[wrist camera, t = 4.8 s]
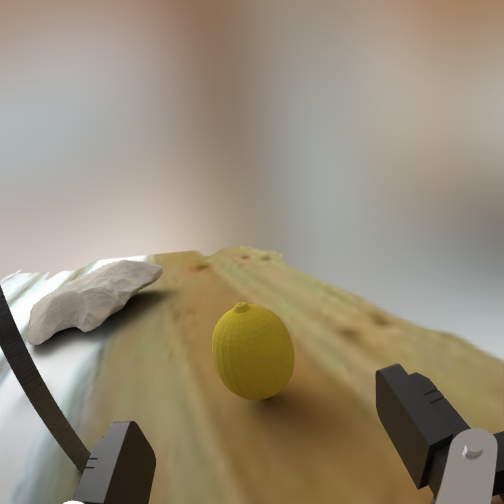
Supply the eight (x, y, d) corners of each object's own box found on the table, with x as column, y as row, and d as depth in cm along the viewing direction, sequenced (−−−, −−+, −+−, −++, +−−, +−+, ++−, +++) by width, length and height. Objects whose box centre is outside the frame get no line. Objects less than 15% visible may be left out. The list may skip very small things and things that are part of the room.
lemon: (272, 366, 26) (252, 280, 24) (316, 393, 22) (301, 296, 20) (216, 397, 24) (185, 308, 22) (254, 433, 19) (224, 335, 17)
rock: (22, 297, 47) (136, 236, 58) (41, 330, 50) (151, 270, 61) (9, 337, 31) (169, 251, 42) (38, 381, 34) (188, 297, 45)
